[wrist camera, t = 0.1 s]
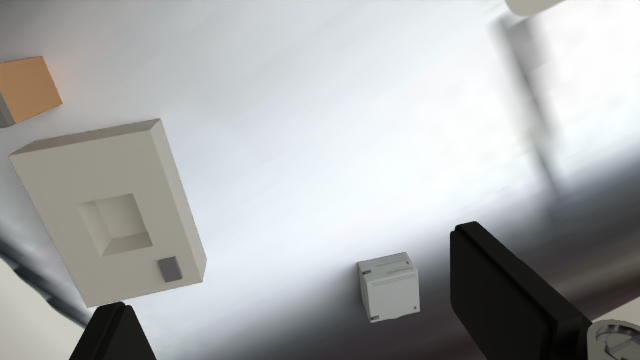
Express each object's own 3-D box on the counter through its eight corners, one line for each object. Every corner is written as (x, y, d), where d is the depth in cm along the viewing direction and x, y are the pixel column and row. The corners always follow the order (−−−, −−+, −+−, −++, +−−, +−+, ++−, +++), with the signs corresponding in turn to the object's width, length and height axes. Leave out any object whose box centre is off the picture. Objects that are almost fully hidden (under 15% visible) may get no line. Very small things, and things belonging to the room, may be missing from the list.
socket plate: (34, 141, 42) (4, 157, 37) (160, 118, 44) (148, 131, 38) (102, 282, 50) (85, 311, 45) (206, 259, 52) (201, 285, 47)
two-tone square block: (1, 62, 39) (-75, 75, 30) (42, 56, 39) (-21, 66, 30) (24, 109, 41) (-41, 135, 32) (62, 103, 41) (9, 126, 32)
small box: (405, 249, 57) (419, 270, 52) (407, 290, 60) (421, 313, 56) (356, 260, 56) (365, 282, 52) (360, 301, 60) (370, 325, 55)
